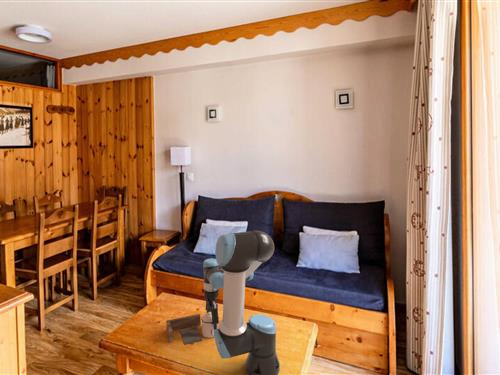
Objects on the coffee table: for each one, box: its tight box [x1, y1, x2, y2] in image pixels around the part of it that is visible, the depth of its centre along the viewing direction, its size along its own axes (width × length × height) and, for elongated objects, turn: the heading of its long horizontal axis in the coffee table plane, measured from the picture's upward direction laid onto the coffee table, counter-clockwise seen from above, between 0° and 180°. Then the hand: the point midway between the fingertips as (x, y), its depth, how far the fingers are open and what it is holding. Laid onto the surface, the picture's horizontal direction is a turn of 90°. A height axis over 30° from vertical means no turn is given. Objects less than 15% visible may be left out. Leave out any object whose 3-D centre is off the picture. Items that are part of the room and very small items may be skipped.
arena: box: [165, 313, 203, 346], centre depth 168 cm, size 16×18×6 cm
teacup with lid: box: [200, 312, 220, 339], centre depth 170 cm, size 12×9×12 cm
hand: (212, 329), depth 170 cm, fingers closed on teacup with lid, 9 cm apart
